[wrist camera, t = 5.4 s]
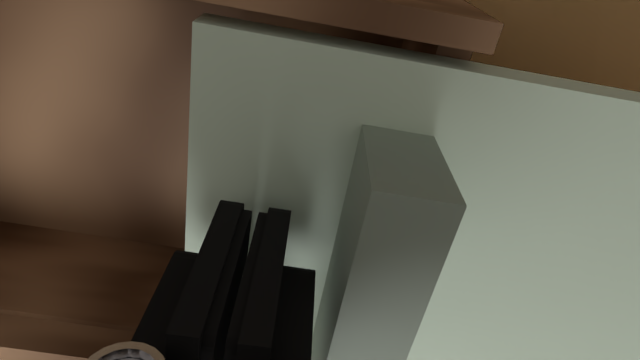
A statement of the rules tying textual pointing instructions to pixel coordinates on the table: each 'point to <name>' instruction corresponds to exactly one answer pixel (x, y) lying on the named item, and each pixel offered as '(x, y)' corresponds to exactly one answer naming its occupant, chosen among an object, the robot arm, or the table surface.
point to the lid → (425, 193)
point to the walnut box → (132, 146)
